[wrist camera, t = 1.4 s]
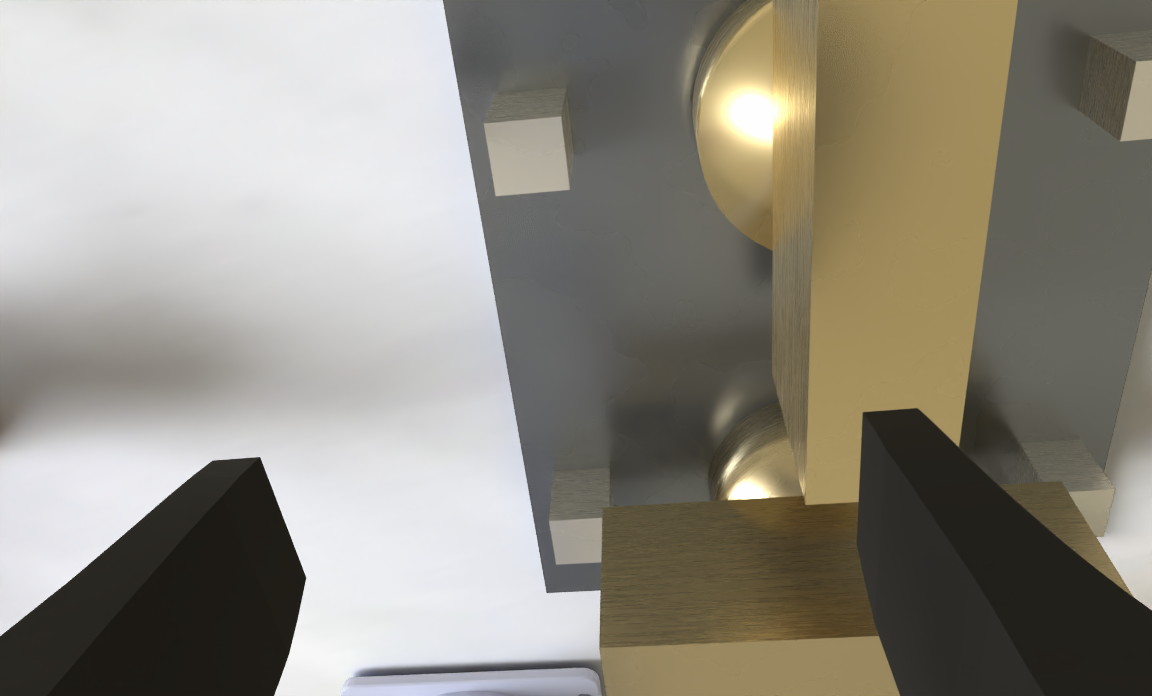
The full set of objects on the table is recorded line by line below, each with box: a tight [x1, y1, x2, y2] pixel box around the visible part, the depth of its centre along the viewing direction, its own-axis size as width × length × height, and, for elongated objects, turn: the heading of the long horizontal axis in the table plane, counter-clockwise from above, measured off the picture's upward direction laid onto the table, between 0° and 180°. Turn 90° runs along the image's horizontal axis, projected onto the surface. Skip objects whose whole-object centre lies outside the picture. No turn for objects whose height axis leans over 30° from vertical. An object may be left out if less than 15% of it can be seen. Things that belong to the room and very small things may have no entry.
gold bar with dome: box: [692, 0, 1018, 505], centre depth 15 cm, size 10×5×6 cm, turn 6°
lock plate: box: [443, 0, 1152, 696], centre depth 18 cm, size 17×14×7 cm
